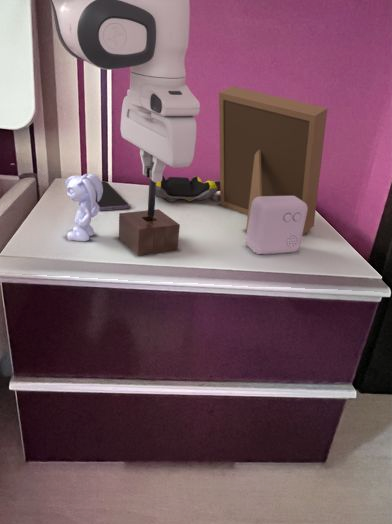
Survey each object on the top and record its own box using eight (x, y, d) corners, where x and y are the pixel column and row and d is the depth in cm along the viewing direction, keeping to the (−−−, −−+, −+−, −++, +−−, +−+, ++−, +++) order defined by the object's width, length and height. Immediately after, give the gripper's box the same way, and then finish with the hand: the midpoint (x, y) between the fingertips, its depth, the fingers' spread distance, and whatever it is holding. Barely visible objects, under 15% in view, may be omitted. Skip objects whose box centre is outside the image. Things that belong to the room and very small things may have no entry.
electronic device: (255, 257, 105) (264, 205, 99) (244, 247, 108) (252, 196, 103) (301, 254, 108) (312, 203, 103) (289, 244, 112) (299, 195, 107)
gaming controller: (216, 208, 126) (207, 193, 134) (219, 183, 123) (210, 170, 131) (150, 205, 123) (144, 190, 131) (151, 180, 120) (146, 167, 128)
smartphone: (97, 207, 116) (75, 182, 127) (97, 212, 117) (75, 187, 127) (130, 205, 119) (106, 181, 130) (129, 210, 120) (106, 185, 130)
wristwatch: (233, 181, 132) (213, 175, 133) (223, 194, 128) (203, 188, 129) (231, 194, 134) (212, 188, 135) (222, 207, 130) (202, 201, 132)
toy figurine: (72, 227, 108) (71, 164, 101) (104, 232, 107) (105, 169, 101) (59, 240, 102) (57, 174, 95) (93, 246, 101) (93, 180, 95)
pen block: (137, 256, 100) (139, 229, 97) (118, 238, 106) (119, 213, 103) (177, 250, 104) (179, 224, 101) (156, 233, 110) (158, 209, 107)
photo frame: (231, 201, 131) (247, 84, 117) (312, 230, 120) (341, 106, 107) (191, 214, 121) (204, 88, 107) (276, 247, 110) (302, 112, 96)
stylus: (149, 219, 101) (153, 138, 94) (145, 216, 102) (150, 136, 95) (155, 218, 102) (160, 138, 94) (152, 216, 103) (156, 136, 95)
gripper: (112, 81, 96) (111, 162, 104) (170, 106, 82) (163, 199, 90) (145, 81, 99) (141, 161, 107) (206, 106, 85) (197, 195, 93)
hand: (152, 178), depth 98 cm, fingers closed on stylus, 1 cm apart
